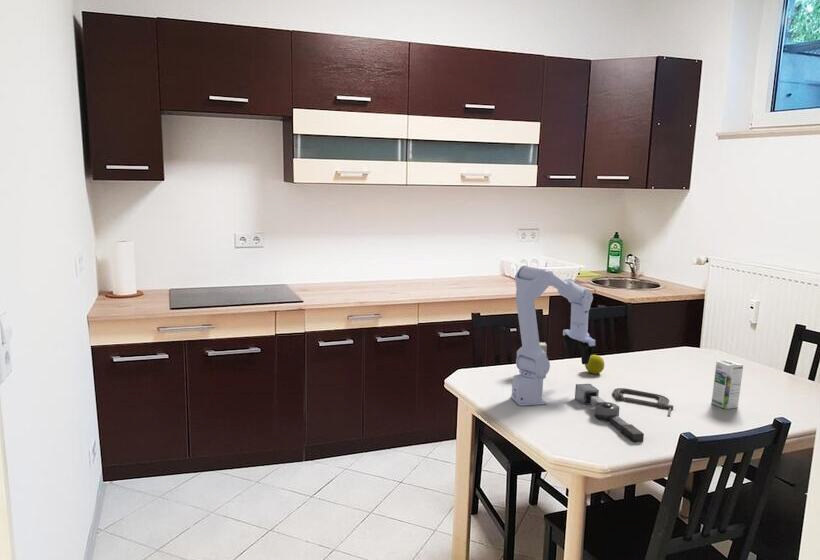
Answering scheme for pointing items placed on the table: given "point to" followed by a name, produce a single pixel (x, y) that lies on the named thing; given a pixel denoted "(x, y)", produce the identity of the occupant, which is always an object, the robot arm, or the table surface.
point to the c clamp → (661, 400)
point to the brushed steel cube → (585, 393)
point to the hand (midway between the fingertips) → (577, 360)
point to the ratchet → (615, 419)
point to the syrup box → (727, 384)
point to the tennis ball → (595, 364)
